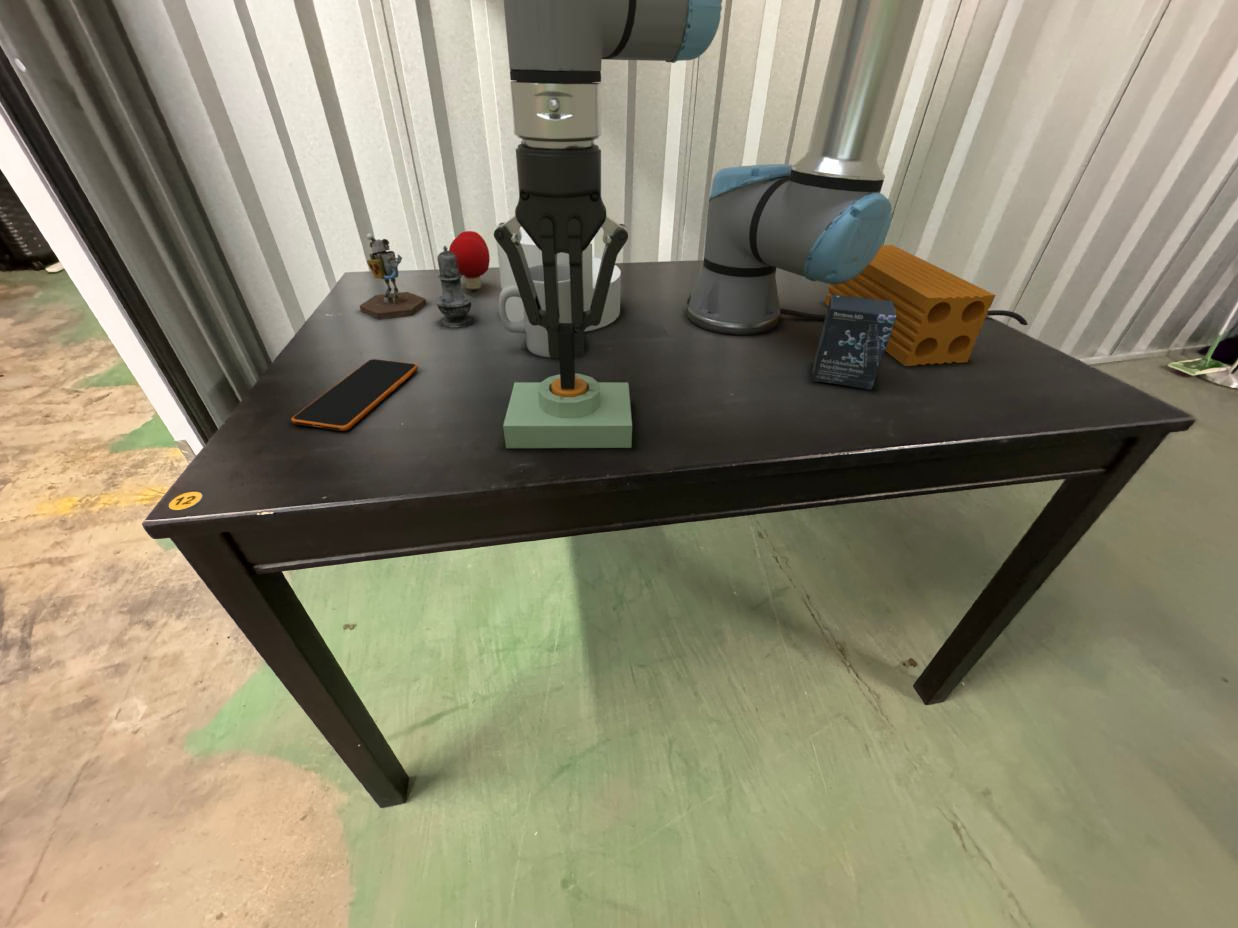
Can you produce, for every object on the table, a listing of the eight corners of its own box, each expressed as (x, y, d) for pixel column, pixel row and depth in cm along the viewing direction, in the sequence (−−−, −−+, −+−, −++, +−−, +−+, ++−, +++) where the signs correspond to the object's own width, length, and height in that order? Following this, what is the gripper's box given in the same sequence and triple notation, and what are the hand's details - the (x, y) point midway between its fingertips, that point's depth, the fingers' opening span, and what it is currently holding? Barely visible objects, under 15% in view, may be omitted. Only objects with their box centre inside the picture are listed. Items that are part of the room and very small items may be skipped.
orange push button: (587, 391, 65) (587, 376, 64) (586, 409, 62) (586, 393, 61) (553, 392, 65) (552, 376, 64) (551, 409, 62) (550, 393, 61)
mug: (578, 333, 87) (576, 262, 81) (587, 355, 81) (586, 280, 74) (502, 338, 85) (493, 266, 79) (504, 362, 79) (495, 285, 72)
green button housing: (627, 403, 70) (628, 367, 67) (631, 448, 62) (632, 409, 59) (516, 403, 69) (512, 367, 66) (505, 448, 61) (500, 409, 58)
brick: (967, 362, 81) (995, 295, 75) (904, 366, 80) (928, 298, 74) (875, 301, 101) (892, 245, 95) (824, 303, 100) (838, 246, 94)
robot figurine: (436, 308, 95) (423, 235, 88) (389, 323, 89) (370, 247, 82) (399, 293, 101) (384, 224, 94) (352, 307, 95) (332, 234, 88)
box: (811, 382, 75) (830, 307, 69) (812, 365, 79) (830, 292, 73) (872, 391, 73) (897, 315, 67) (870, 373, 77) (893, 299, 71)
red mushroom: (487, 299, 99) (480, 241, 93) (449, 299, 99) (439, 241, 93) (497, 283, 106) (491, 228, 100) (461, 282, 106) (453, 227, 100)
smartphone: (290, 424, 64) (287, 418, 64) (372, 363, 77) (370, 358, 77) (347, 433, 63) (345, 426, 62) (421, 369, 76) (420, 363, 76)
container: (643, 317, 93) (646, 234, 85) (537, 343, 84) (530, 253, 76) (582, 284, 106) (580, 210, 98) (485, 304, 97) (474, 223, 89)
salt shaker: (466, 329, 88) (454, 252, 81) (432, 326, 89) (417, 249, 82) (481, 316, 92) (471, 242, 85) (448, 313, 93) (435, 239, 86)
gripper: (475, 146, 45) (505, 399, 59) (634, 148, 45) (627, 399, 59) (490, 136, 51) (514, 367, 65) (630, 138, 51) (624, 368, 65)
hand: (568, 382), depth 62 cm, fingers closed
